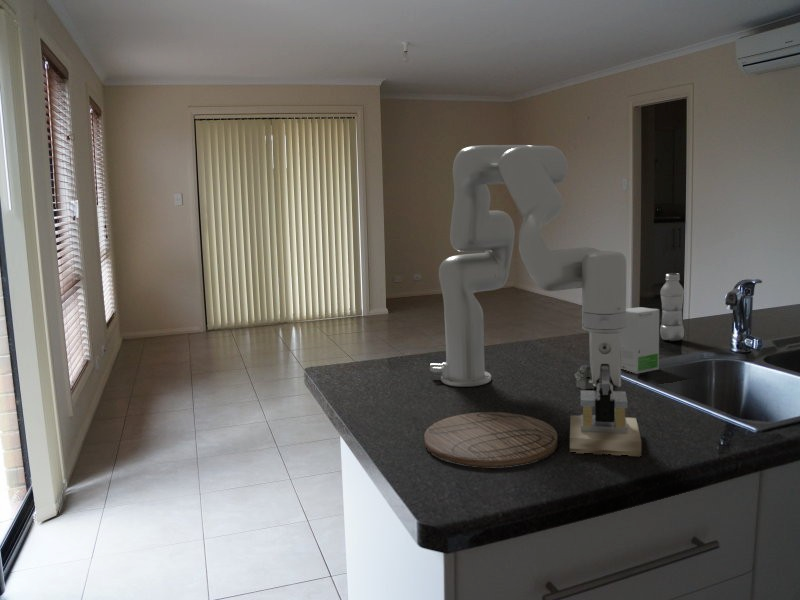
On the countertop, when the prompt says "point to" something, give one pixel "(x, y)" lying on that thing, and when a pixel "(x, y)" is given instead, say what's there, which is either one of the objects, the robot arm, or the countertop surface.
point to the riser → (605, 440)
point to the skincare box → (640, 340)
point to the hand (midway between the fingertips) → (603, 412)
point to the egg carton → (582, 374)
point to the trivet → (491, 439)
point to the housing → (603, 427)
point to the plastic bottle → (672, 308)
